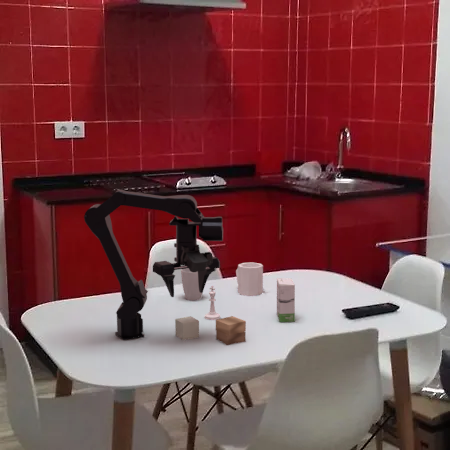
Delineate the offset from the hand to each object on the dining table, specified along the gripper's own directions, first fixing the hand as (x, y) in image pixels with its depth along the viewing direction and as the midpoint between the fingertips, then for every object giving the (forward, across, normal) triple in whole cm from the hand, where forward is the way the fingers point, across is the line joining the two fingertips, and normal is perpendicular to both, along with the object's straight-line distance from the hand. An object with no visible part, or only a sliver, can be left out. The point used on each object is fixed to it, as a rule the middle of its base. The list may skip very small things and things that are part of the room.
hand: (186, 294), depth 215 cm
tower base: (+12, +9, -10) cm, 18 cm away
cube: (+12, 0, 0) cm, 12 cm away
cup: (+12, +20, +34) cm, 41 cm away
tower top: (+10, +9, -9) cm, 16 cm away
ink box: (+12, +34, -1) cm, 36 cm away
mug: (+12, +40, +31) cm, 53 cm away
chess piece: (+12, +15, +12) cm, 23 cm away
